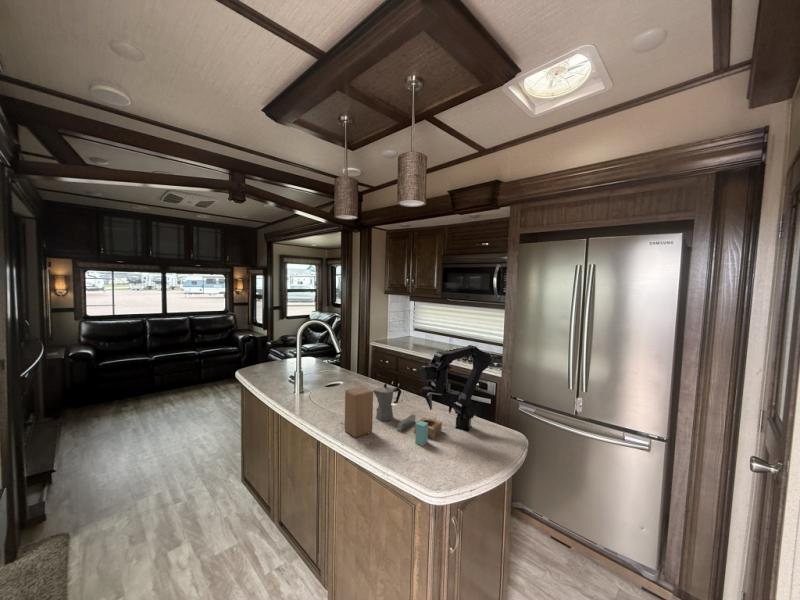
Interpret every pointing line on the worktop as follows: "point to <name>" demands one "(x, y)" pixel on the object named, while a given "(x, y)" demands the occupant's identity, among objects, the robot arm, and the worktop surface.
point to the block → (358, 411)
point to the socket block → (431, 427)
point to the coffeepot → (385, 402)
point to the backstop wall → (406, 423)
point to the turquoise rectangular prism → (421, 433)
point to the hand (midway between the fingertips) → (440, 411)
